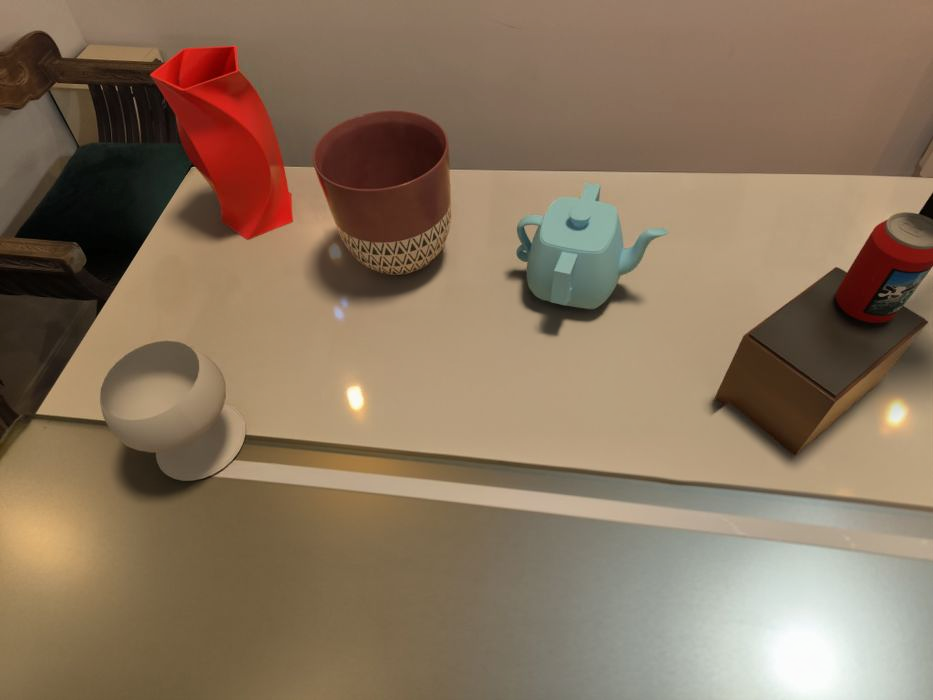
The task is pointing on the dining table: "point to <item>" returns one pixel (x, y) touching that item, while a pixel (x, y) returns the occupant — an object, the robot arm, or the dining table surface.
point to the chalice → (173, 409)
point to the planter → (388, 188)
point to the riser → (812, 363)
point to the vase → (228, 137)
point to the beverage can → (888, 268)
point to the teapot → (579, 250)
